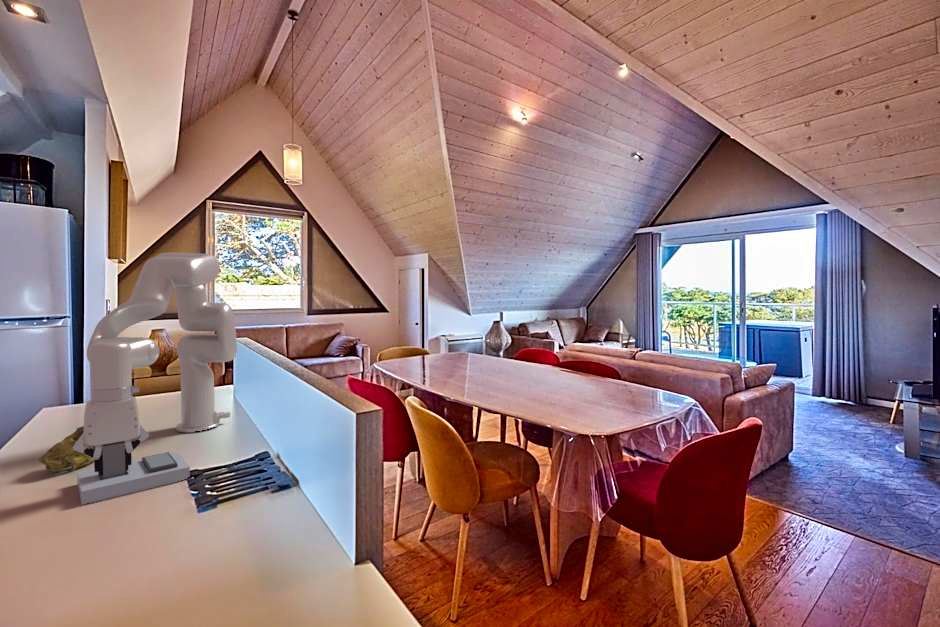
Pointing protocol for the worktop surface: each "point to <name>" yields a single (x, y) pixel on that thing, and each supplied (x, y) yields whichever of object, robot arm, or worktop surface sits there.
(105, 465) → the block
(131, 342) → the robot arm
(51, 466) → the animal skull
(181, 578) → the worktop surface
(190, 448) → the worktop surface
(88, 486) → the dock board
